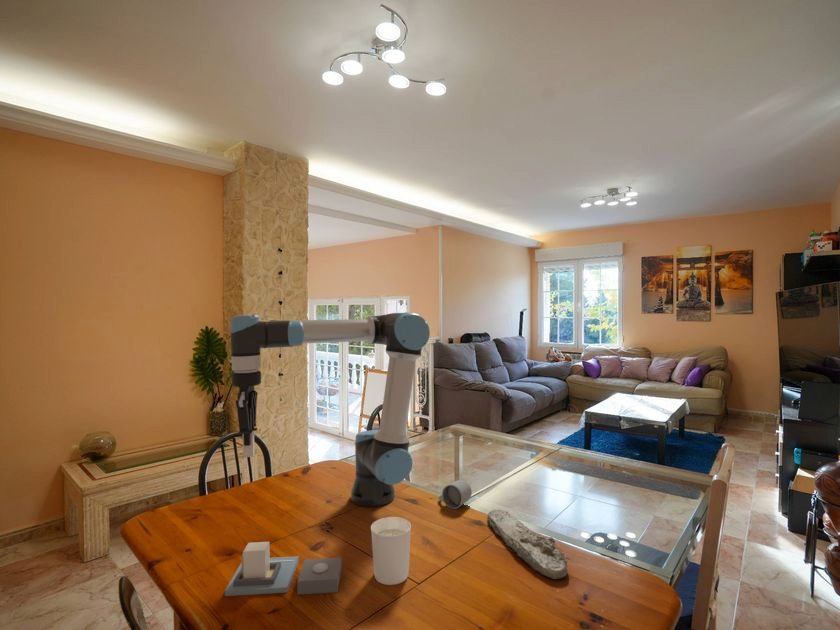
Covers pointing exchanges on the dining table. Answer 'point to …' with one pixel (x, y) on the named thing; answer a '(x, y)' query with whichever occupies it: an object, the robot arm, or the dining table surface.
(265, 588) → the board
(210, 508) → the dining table surface
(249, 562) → the plug
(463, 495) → the ceramic mug
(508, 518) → the long grey stone
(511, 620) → the dining table surface
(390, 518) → the candle holder
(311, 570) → the grey push button box
